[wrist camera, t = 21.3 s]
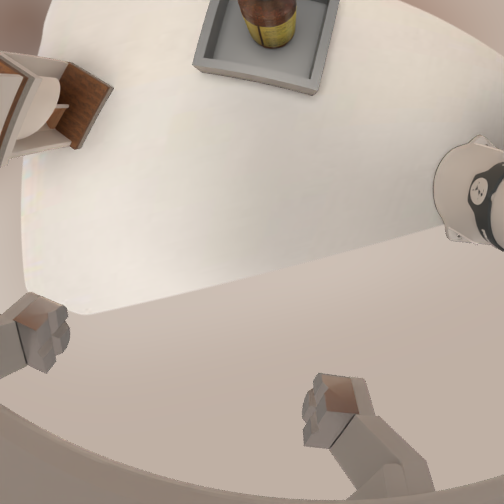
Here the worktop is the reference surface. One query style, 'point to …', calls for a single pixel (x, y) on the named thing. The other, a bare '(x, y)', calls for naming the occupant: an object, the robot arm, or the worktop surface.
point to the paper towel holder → (45, 104)
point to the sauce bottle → (270, 21)
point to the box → (265, 59)
